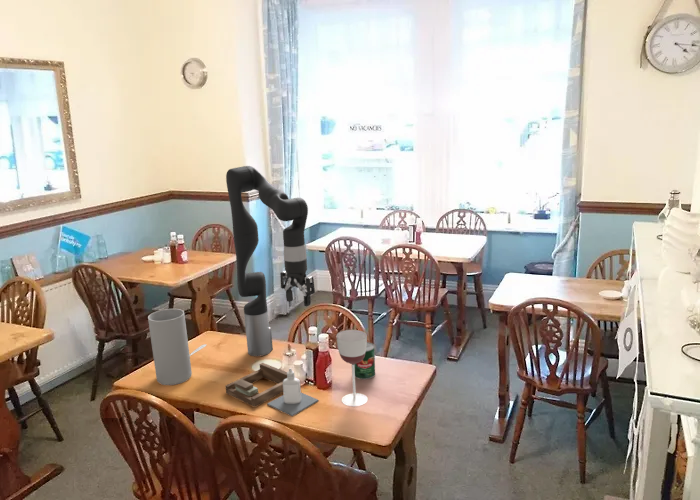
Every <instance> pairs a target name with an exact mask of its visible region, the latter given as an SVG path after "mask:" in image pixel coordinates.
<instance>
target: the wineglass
mask: <svg viewBox="0 0 700 500" xmlns="http://www.w3.org/2000/svg"><path fill="white" fill-rule="evenodd" d="M367 342H368V336H367V333H366V332H364V331H362V330H357V329H346V330H345V329H344V330H342V331H339V332H338V333H337V334H336V344H337V348H338V354H339V356H340V358H341V359H342V361H344V362H346V363H347V364H350V365H351V380H352V393H348V394H346V395H344V396H343V397H342V398H341V403H343V405H346V406H348V407H359V406H360V407H361V406H362V405H364V404H366V403H367V402H368V400H369V399H368V397H367V395H365V394H363V393H360V392H359V393H358V392H356V389H357V388H356V377H355V368H354V364H356V363H359V362H361V361H362V360H363V359H364V357H365V353H366V346H367Z"/></svg>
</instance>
